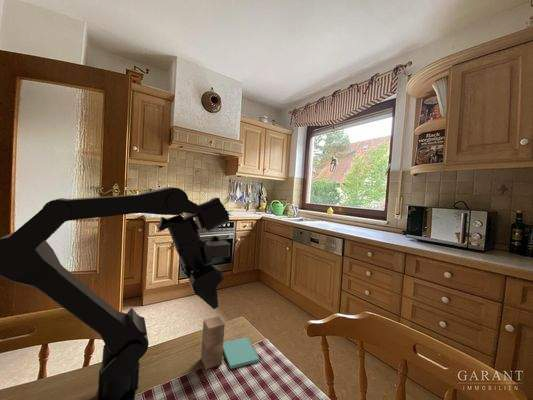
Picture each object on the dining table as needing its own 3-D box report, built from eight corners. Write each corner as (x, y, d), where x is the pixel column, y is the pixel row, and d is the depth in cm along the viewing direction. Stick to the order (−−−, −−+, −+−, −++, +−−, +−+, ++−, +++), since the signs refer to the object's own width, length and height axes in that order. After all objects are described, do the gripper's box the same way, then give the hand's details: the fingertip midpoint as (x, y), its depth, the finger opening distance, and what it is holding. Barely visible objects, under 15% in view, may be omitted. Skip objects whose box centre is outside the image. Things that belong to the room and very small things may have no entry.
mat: (230, 369, 56) (230, 365, 56) (221, 345, 64) (221, 342, 64) (259, 361, 59) (259, 358, 59) (247, 340, 67) (247, 337, 67)
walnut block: (205, 369, 55) (208, 328, 55) (200, 358, 59) (203, 319, 58) (221, 364, 57) (224, 324, 57) (216, 353, 61) (218, 316, 60)
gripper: (234, 232, 48) (256, 297, 51) (209, 221, 64) (227, 271, 68) (180, 257, 43) (208, 327, 46) (168, 238, 59) (190, 290, 63)
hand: (210, 299), depth 56 cm, fingers open, 9 cm apart
